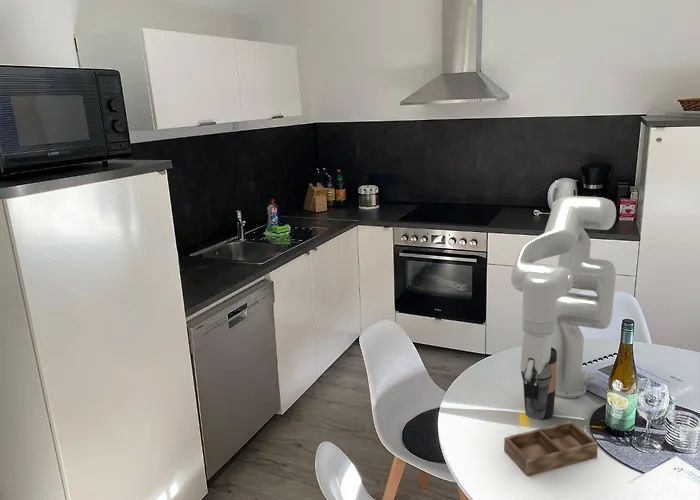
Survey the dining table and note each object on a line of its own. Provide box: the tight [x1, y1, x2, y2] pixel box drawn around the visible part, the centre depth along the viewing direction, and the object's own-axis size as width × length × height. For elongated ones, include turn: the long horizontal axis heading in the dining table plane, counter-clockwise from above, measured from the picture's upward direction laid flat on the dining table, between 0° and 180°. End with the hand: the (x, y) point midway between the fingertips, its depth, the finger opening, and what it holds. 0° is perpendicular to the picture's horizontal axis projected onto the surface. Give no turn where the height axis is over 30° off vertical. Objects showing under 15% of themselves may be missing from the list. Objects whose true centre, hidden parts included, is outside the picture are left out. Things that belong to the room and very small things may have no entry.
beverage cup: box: [520, 362, 552, 420], centre depth 137 cm, size 7×7×20 cm
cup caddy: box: [503, 420, 599, 477], centre depth 144 cm, size 20×11×4 cm, turn 106°
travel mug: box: [540, 347, 557, 420], centre depth 160 cm, size 8×8×20 cm
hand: (535, 390), depth 138 cm, fingers closed on beverage cup, 6 cm apart
